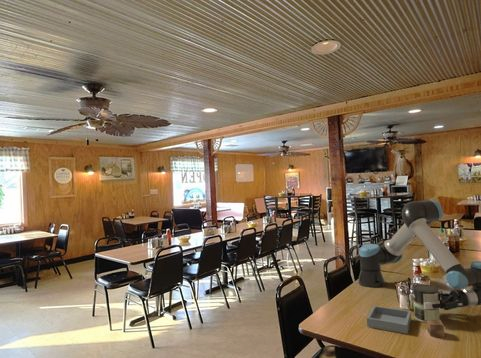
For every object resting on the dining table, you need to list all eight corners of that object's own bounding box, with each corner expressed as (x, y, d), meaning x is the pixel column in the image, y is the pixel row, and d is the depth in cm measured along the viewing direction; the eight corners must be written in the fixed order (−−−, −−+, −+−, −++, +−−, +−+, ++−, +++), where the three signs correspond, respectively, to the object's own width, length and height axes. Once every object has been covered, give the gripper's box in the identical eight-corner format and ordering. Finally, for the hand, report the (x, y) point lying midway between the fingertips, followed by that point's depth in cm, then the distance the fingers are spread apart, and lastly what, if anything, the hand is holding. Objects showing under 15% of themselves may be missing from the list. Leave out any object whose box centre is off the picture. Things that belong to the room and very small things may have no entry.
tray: (367, 326, 144) (366, 318, 144) (374, 313, 158) (373, 305, 158) (407, 334, 136) (407, 324, 136) (411, 319, 149) (410, 311, 149)
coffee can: (411, 320, 148) (410, 289, 149) (416, 312, 156) (415, 282, 157) (438, 325, 142) (436, 292, 142) (441, 317, 150) (439, 286, 150)
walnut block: (430, 336, 133) (429, 324, 133) (427, 331, 138) (426, 319, 138) (444, 337, 131) (443, 325, 131) (441, 332, 136) (440, 320, 136)
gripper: (483, 315, 139) (433, 320, 138) (446, 297, 162) (403, 301, 160) (482, 298, 139) (432, 302, 138) (445, 282, 162) (402, 285, 160)
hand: (416, 301), depth 149 cm, fingers closed on coffee can, 10 cm apart
